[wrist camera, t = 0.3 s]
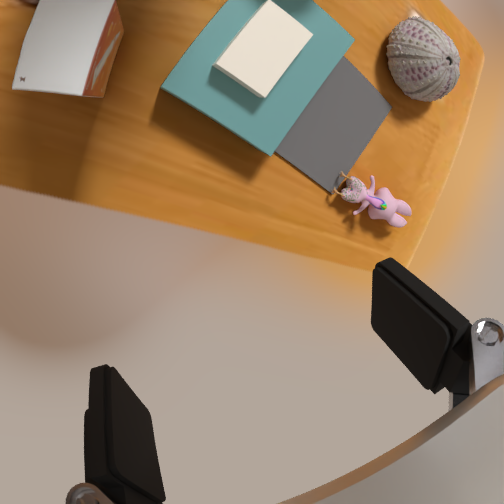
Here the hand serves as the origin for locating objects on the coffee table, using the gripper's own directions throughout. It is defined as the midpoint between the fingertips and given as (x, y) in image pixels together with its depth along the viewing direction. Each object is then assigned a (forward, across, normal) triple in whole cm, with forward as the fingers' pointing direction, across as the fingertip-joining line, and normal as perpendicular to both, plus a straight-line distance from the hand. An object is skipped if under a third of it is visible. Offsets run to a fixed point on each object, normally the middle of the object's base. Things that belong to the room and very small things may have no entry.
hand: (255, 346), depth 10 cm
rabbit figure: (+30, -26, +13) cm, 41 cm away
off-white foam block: (+26, -12, -10) cm, 30 cm away
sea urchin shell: (+30, -37, -7) cm, 48 cm away
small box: (+30, +6, -15) cm, 34 cm away
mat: (+30, -21, 0) cm, 37 cm away
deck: (+30, -12, -10) cm, 34 cm away
